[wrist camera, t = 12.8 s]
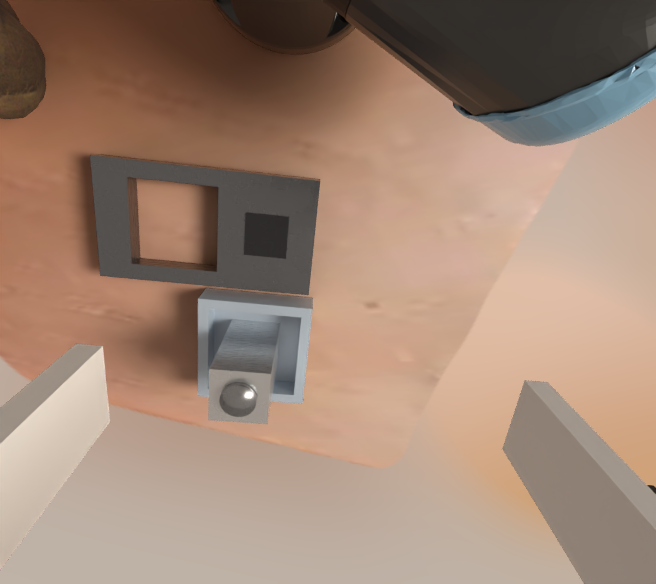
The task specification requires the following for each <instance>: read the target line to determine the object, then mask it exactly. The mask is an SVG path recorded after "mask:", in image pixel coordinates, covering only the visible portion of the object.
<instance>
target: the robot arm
mask: <svg viewBox="0 0 656 584" xmlns="http://www.w3.org/2000/svg"><path fill="white" fill-rule="evenodd" d="M213 2H214V3H215V5H216V6H217V8H218V9H219V11H220V12H221V13H222V15H223V16H224V17H225V18H226V20H227V21H228V22H229V23H230V24H231V25H232V26H233V27H234V28H235V29H236V30H237V31H238V32H239V33H240V34H242V35H243V36H244V37H246V38H247V39H249V40H250V41H252V42H253V43H255V44H257V45H259V46H261V47H263V48H266V49H268V50H271V51H275V52H279V53H284V54H307V53H312V52H316V51H320V50H323V49H325V48H327V47H330V46H332V45H334V44H335V43H337V42H339V41H340V40H342V39H343V38H344V37H346V36H347V35H348V34H349V33H350V32H352V31H353V30H354V29H355V28H357V29H358V30H359V31H361V32H362V33H363V34H365V35H366V36H367V37H368V38H370V39H371V40H372V41H374V42H375V43H376V44H378V45H379V46H380V47H382V48H383V49H384V50H386V51H387V52H388V53H389V54H391V55H392V56H393V57H395V58H396V59H397V60H399V61H400V62H401V63H403V64H404V65H405V66H407V67H408V68H409V69H410V70H412V71H413V72H414V73H416V74H417V75H418V76H420V77H421V78H422V79H424V80H425V81H426V82H427V83H429V84H430V85H431V86H433V87H434V88H435V89H437V90H438V91H439V92H441V93H442V94H443V95H445V96H446V97H447V98H448V99H450V100H451V101H452V102H453V106H454V108H455V109H456V110H457V111H458V112H459V113H461V114H462V115H463V116H465V117H467V118H469V119H473V120H475V121H479V122H481V123H482V124H484V125H485V126H487V127H488V128H490V129H491V130H492V131H494V132H495V133H497V134H498V135H500V136H501V137H503V138H504V139H506V140H508V141H510V142H513V143H519V144H523V145H527V146H546V145H554V144H559V143H563V142H567V141H570V140H573V139H576V138H579V137H582V136H585V135H588V134H590V133H592V132H595V131H597V130H599V129H601V128H603V127H606V126H607V125H610V124H612V123H614V122H616V121H618V120H620V119H621V118H623V117H625V116H627V115H629V114H630V113H632V112H634V111H636V110H637V109H639V108H641V107H642V106H644V105H645V104H647V103H648V102H650V101H651V100H653V99H654V98H656V0H213ZM109 422H110V417H109V405H108V395H107V385H106V374H105V364H104V354H103V346H97V345H85V344H75V345H74V346H73V347H72V348H71V349H70V350H68V351H67V352H66V353H65V354H64V355H62V356H61V357H60V358H59V359H58V360H56V361H55V362H54V363H53V364H52V365H50V366H49V367H48V368H47V369H46V370H45V371H43V372H42V373H41V374H40V375H39V376H37V377H36V378H35V379H34V380H33V381H31V382H30V383H29V384H28V385H27V386H25V387H24V388H23V389H22V390H21V391H20V392H18V393H17V394H16V395H15V396H14V397H12V398H11V399H10V400H9V401H8V402H6V403H5V404H4V405H3V406H2V407H0V570H1V569H2V567H3V566H4V564H5V563H6V562H7V560H8V559H9V558H10V556H11V555H12V553H13V552H14V551H15V550H16V548H17V547H18V545H19V544H20V543H21V541H22V540H23V539H24V537H25V536H26V534H27V533H28V532H29V531H30V529H31V528H32V527H33V525H34V524H35V522H36V521H37V520H38V518H39V517H40V516H41V514H42V513H43V511H44V510H45V509H46V508H47V506H48V505H49V504H50V502H51V501H52V499H53V498H54V497H55V495H56V494H57V493H58V491H59V490H60V489H61V487H62V486H63V485H64V483H65V482H66V480H67V479H68V478H69V476H70V475H71V474H72V472H73V471H74V470H75V468H76V467H77V465H78V464H79V463H80V461H81V460H82V459H83V457H84V456H85V455H86V453H87V452H88V451H89V449H90V448H91V447H92V445H93V444H94V443H95V441H96V440H97V438H98V437H99V436H100V434H101V433H102V432H103V430H104V429H105V427H106V426H107V425H108V423H109ZM503 451H504V452H505V454H506V456H507V457H508V459H509V461H510V462H511V464H512V466H513V467H514V469H515V471H516V472H517V474H518V475H519V477H520V479H521V480H522V482H523V483H524V485H525V487H526V489H527V490H528V492H529V494H530V495H531V497H532V499H533V500H534V502H535V503H536V505H537V506H538V508H539V510H540V512H541V513H542V515H543V516H544V518H545V520H546V521H547V523H548V525H549V527H550V528H551V530H552V532H553V533H554V535H555V536H556V538H557V540H558V541H559V543H560V545H561V546H562V548H563V550H564V551H565V553H566V554H567V556H568V558H569V559H570V561H571V563H572V565H573V566H574V568H575V569H576V571H577V573H578V574H579V576H580V578H581V579H582V581H583V582H584V584H656V488H655V487H654V486H652V485H646V484H645V483H644V482H643V481H642V480H641V479H640V478H639V476H638V475H637V474H636V473H635V472H634V471H633V470H632V469H631V468H630V467H629V466H628V465H627V464H626V463H625V462H624V461H623V460H622V459H621V458H620V457H619V456H618V455H617V454H616V453H615V452H614V451H613V449H612V448H611V447H609V445H608V444H607V443H606V442H605V441H604V440H603V439H602V438H601V437H600V436H599V435H598V434H597V433H596V432H595V431H594V430H593V429H592V428H591V427H590V426H589V425H588V424H587V423H586V421H584V419H583V418H582V417H581V416H580V415H579V414H578V413H577V412H576V411H575V410H574V409H573V408H572V407H571V406H570V405H569V404H568V403H567V402H566V401H565V400H564V399H563V398H562V397H561V396H560V394H559V393H558V392H556V390H555V389H554V388H553V387H552V386H551V385H550V384H549V383H548V382H539V381H526V380H525V381H524V384H523V388H522V390H521V393H520V397H519V400H518V403H517V406H516V409H515V412H514V415H513V418H512V421H511V424H510V428H509V430H508V433H507V436H506V439H505V443H504V446H503Z"/></svg>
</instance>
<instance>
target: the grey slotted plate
mask: <svg viewBox="0 0 656 584" xmlns="http://www.w3.org/2000/svg"><path fill="white" fill-rule="evenodd" d="M90 161H91V172H92V184H93V196H94V208H95V219H96V231H97V243H98V255H99V266H100V276H109V277H119V278H130V279H141V280H152V281H162V282H173V283H184V284H195V285H205V286H216V287H227V288H238V289H248V290H259V291H270V292H281V293H291V294H302V295H309V285H310V275H311V266H312V256H313V246H314V236H315V226H316V216H317V206H318V197H319V187H320V179H313V178H304V177H295V176H286V175H278V174H269V173H260V172H251V171H242V170H233V169H225V168H216V167H207V166H198V165H189V164H180V163H172V162H163V161H154V160H145V159H136V158H127V157H119V156H110V155H90ZM136 178H142V179H151V180H160V181H169V182H178V183H187V184H196V185H205V186H214V187H218V239H217V266H215V265H205V264H195V263H184V262H174V261H164V260H153V259H143V258H140V244H139V223H138V203H137V182H136Z"/></svg>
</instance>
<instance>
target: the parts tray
mask: <svg viewBox="0 0 656 584" xmlns="http://www.w3.org/2000/svg"><path fill="white" fill-rule="evenodd" d="M312 309H313V298H310V297H299V296H288V295H277V294H267V293H256V292H245V291H234V290H224V289H213V288H206V289H205V290H204V291H203V293H202V294H201V295H200V297H199V298H198V396H203V397H209V368H210V366H211V364H212V362H213V360H214V358H215V355H216V353H217V351H218V349H219V347H220V345H221V343H222V341H223V338H224V336H225V334H226V332H227V330H228V328H229V326H230V324H231V321H232V319H239V320H250V321H262V322H273V323H281V324H280V337H279V350H278V363H277V370H276V376H275V382H274V387H273V393H272V399H271V402H284V403H297V404H302V403H303V394H304V384H305V375H306V365H307V356H308V347H309V337H310V328H311V318H312Z"/></svg>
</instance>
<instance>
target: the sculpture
mask: <svg viewBox="0 0 656 584" xmlns="http://www.w3.org/2000/svg"><path fill="white" fill-rule="evenodd" d="M45 90H46V78H45V57H44V54H43V52H42V50H41V48H40V45H39V43H38V42H37V41H36V39H35V38H34V37H33V36H32V35H31V34H30V33H29V32H28V31H27V30H26V29H25V28H24V26H23V25H22V24H21V23H20V21H19V19H18V17H17V15H16V14H15V12H14V10H13V9H12V7H11V6H10V4H9V3H8V1H7V0H0V118H2V119H15V118H23V117H25V116H27V115H28V114H29V113H31V112H32V111H33V110H34V109H36V108H37V107H38V105H39V103H40V102H41V101H42V99H43V97H44V94H45Z"/></svg>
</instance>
